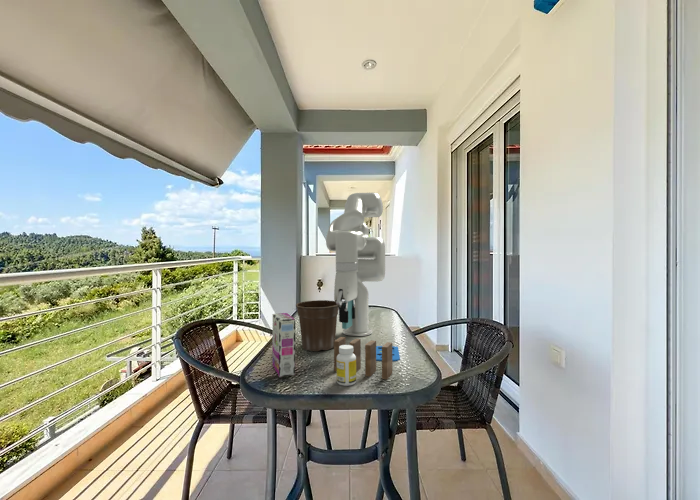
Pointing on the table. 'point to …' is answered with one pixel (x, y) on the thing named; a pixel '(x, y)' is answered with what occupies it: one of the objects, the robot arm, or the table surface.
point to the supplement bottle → (346, 366)
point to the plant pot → (317, 324)
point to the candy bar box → (283, 344)
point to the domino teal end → (349, 309)
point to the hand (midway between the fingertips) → (347, 319)
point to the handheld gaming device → (394, 353)
